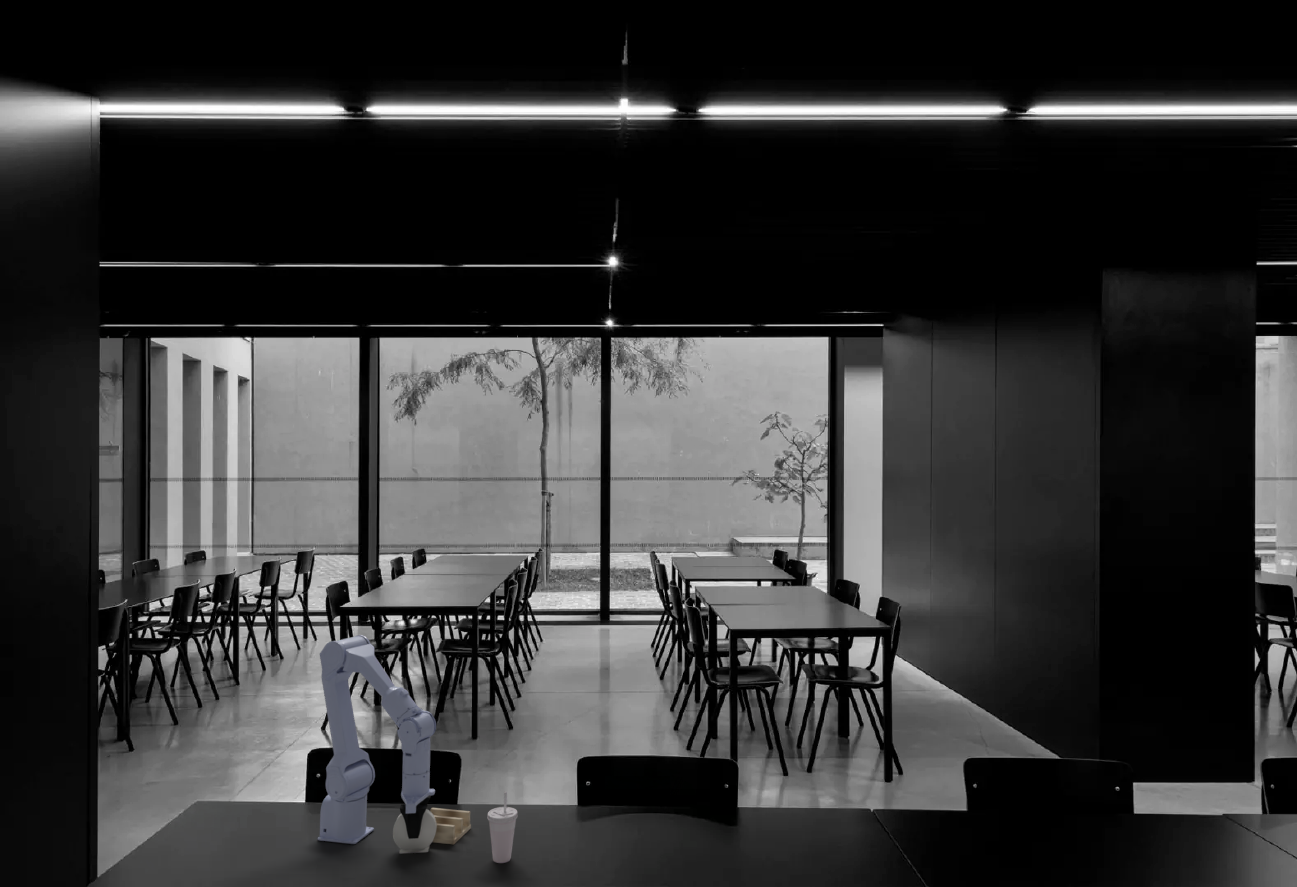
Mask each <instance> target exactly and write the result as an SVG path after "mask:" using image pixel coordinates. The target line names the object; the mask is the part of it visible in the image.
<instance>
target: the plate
mask: <svg viewBox="0 0 1297 887" xmlns="http://www.w3.org/2000/svg"><path fill="white" fill-rule="evenodd" d="M436 829H437V823H436V819H435V817H434V815H433V814H432V813H431V810H429V809H428V808H427V809H426V811H425V813H424V815H423V819H422V823H421V830H420V834H419V837H418V838H415V839H409V838H408V834H407V829H406V824H405V820H404V818H403V816H402V814H401V813H400V814H399V815H398V817H396V821H395V822H394V825H393V829H392V837H393V841H394V843H395V845H396V846H397V847H398V848H399V851H398V852H399V854H413V853H414V854H416V853H429V850H430V845H431V844H432V843H433V842H432V841H433V839H434V837H435V833H436Z"/></svg>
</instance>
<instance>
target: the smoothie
mask: <svg viewBox="0 0 1297 887" xmlns="http://www.w3.org/2000/svg"><path fill="white" fill-rule="evenodd" d="M507 797H508V794H507V790H506V791H504V792H503V806H498V807H495V808H492V809H490V810H489V811H488V812H487V817H486V818H487V821H488V823H489V834H490V842H491V852H492V861H493V862H494V863H498V864H504V863H508V862H510V860H511V859H512V851H513V845H514V843H513V842H514V836H515V830H516V829H515V828H516V823H517V822H516V821H517V819H518V810H517V809H516V808H514V807H511V806H510V807H509V806H507V805H508V804H507V802H508V800H507Z"/></svg>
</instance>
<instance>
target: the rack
mask: <svg viewBox="0 0 1297 887" xmlns="http://www.w3.org/2000/svg"><path fill="white" fill-rule="evenodd" d="M430 812H431V813H432V814H433V815H434V817H435V819H436V823H437V829H436V833H435V837H434V839H433V841H432V843H436V844H437V843H438V844H445V845H446V844H447V845H455V844H456V843H457V842H458V841H460V839H461V838H463V836H464V835H465V834H467V833H468V832H469V830H471V828H472V824H471V810H470V811H469V810H460V809H458V810H457V809H449V808H439V807H431V808H430Z"/></svg>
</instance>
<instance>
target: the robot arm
mask: <svg viewBox="0 0 1297 887" xmlns="http://www.w3.org/2000/svg"><path fill="white" fill-rule="evenodd" d="M319 659H320V666H321V676H320V678H321V684H322V689H323V690H322V691H323V694H324V696H323V697H324V702H325V708H326V713H327V720H328V726H329V731H330V737H331V745H332V751H333V756H332V757H331V759H330V761H329V763H328V764H327V766H326V768H325V770H326V779H325V789H326V792H327V795H326V796H325V798H324V799H323V801H322V803H321V807H320V813H319V814H320V819H319V836H318V837H317V841H322V842H324V841H325V842H332V843H340V844H348V845H349V844H350V845H355V844H358V843H359V842H360V841H361V840H363V839H364V838H365V837H366V836H368V835H369V834H370V833H371V832H373V831H375V828H374V827H371V826H367V810H368V809H367V804H368V801H367V800H368V793H369V791H370V787H371V786H372V785H373V783H374V781H375V778H376V772H375V768H374V766H373V764H372V762H371V761H370V755H369V753H368V752H366V751H365V750H364V749H362V748H360V744H359V738H358V732H357V726H356V720H355V715H354V708H353V701H352V697H351V692H350V691H351V690H350V686H349V678H350V677H351V676H352V675H353V673H359V674H360V675H361V676H362V677H364V679H365V680H366V682H368V683H369V684H370V686H371V687H373V689H374V690H375V691H376V692H377V693H378V694H379V695H380V696H381V703H380V706H381V707H382V708H383V709H384V710H385V712H386V714H387V715H388V716H389V717H390V719H391V720H392V721H393V722H394V724H395V725H396V727H397V728H398V729H397V730H396V732H397V737H398V740H399V741H400V744H401V750H402V751H401V752H402V778H401V779H402V784H401V785H402V786H401V787H402V788H401V791H400V792H401V793H400V796H401V799H402V801H403V802H404V804H401V805H400V806H399V812H400V814H402V816H403V818H404V820H405V824H406V829H407V834H408V838H409V839H415V838H418V837H419V834H420V830H421V823H422V819H423V815H424V813H425V811H426V809H428V804H429V802H430V800H431V796H434V795H435V793H436V790H435V789H434V788H430V779H431V778H430V777H431V776H430V775H431V774H430V773H431V771H430V768H431V767H430V766H431V737H432V736H433V735H434V734H435V733H436V730H437V721H436V719H435V717H434V716H433V713H431V711H428V710H424V709H422V708H421V707H419V706H418V704H417V703H416V702H415V701H414V700H413V698H412V697H411V696H410V693H409V691H408V690H407V689H405V688H404V687H402V686H395V684H394V683H393V681H392V679H391V678H390V676H389V675H388V674H387V672H386V671H385V669H384V668H383V666H382V665H381V663H380V662H379V660H378V659H377V657H376V655H375V646H374V645H373V644H372V643H371V642H370V640H369V638H368V637H367V636H365V635H363V634H358V635H355V636H352V637H347V638H342V639H340V640H332V641H328V642H327V643H326V644H325V645H324V647H323V648H322V650H321V651H320V653H319Z"/></svg>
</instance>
